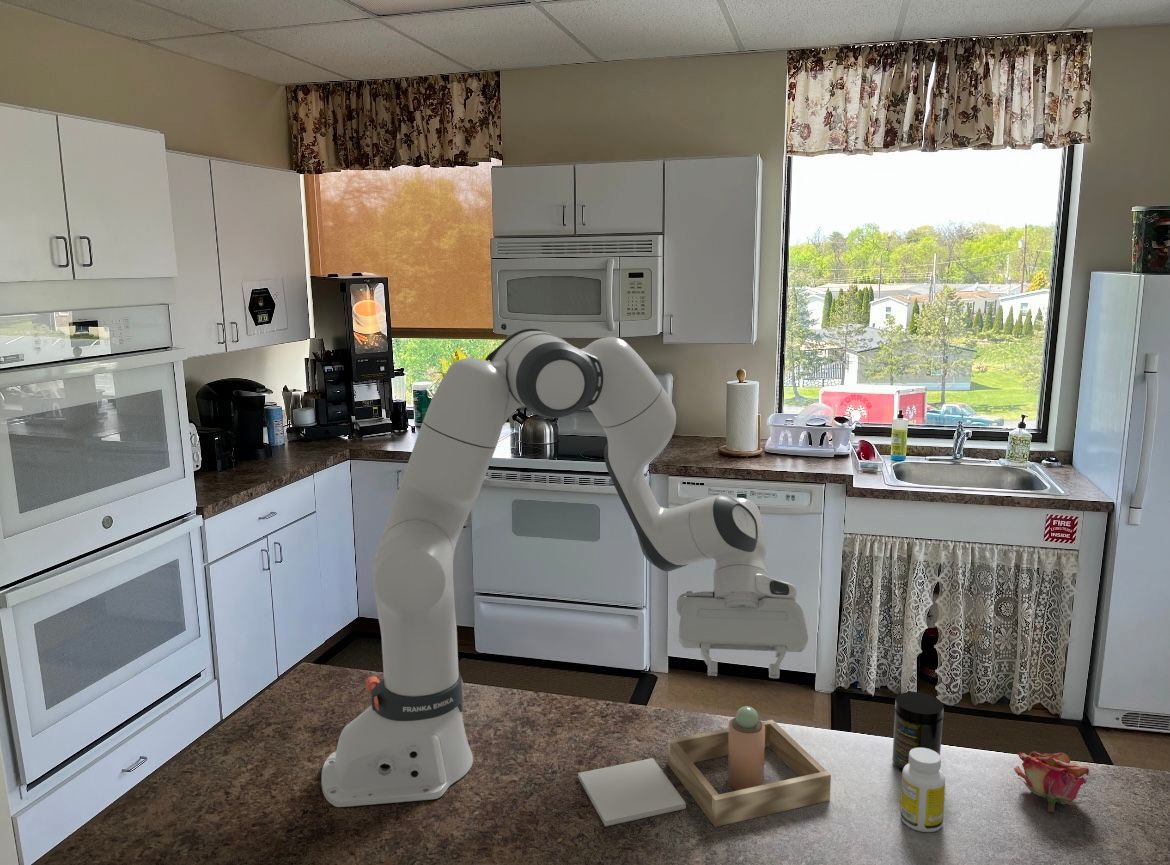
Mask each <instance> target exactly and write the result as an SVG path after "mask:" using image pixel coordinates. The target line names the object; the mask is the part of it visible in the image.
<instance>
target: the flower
mask: <svg viewBox="0 0 1170 865" xmlns="http://www.w3.org/2000/svg"><path fill="white" fill-rule="evenodd" d="M1018 757H1019V759H1020V760H1021V761H1022V764H1021V766H1022V768H1023V769H1024V773H1023V771H1022V770H1021V768H1020V766H1019V765H1016V767H1014V768H1013V770H1014V772H1015V773H1016V774H1017V777H1018V780H1021V781H1022V782H1023V784H1025V786H1026V787H1027V789H1028V790H1029V791H1030V792H1031V793H1032V794H1035V795H1037V796H1039V797H1041V798H1043V799H1044V798H1045V799H1047V801H1048V802H1047V803H1048V804H1047V806H1048V807H1047V812H1048V813H1050V814H1055V805H1056V803H1058V804H1061V805H1068V806H1069V807H1071V808H1072V806H1074V805H1079V804H1082V803H1085V802H1091V800H1090V799H1088V800H1082V801H1080V802H1079V801H1078V802H1077V801H1075V799H1076V798H1077V796H1078V793H1079V791H1080V789H1081V787H1082V785H1084V784H1086V783H1087V782H1088V781H1087V779H1086V778H1084V777H1083V776H1084V775H1086V776H1088V775H1089V772H1090V769H1089V766H1087V765H1085V766H1082V765H1079V764H1078V763H1077V762H1076V761H1075V762H1074V761H1072V762H1071V758H1070V756H1069V755H1068V754H1066V753H1065V752H1057V753H1046V752H1045V753H1039V752H1037V751H1035V750H1033V751H1030V753H1029V755H1028V754H1026V753H1025V752H1020V751H1018ZM1019 777H1021V778H1019ZM1022 778H1023V779H1022Z"/></svg>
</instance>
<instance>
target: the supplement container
mask: <svg viewBox="0 0 1170 865" xmlns="http://www.w3.org/2000/svg"><path fill="white" fill-rule="evenodd" d="M894 703H895V704H894V723H893V741H892V742H893V744H892V755H891V756H892V763H893V764H894V766H895V767H896V768H897V769H898V770H899V771H900V772H902V773H903V768H904V767H905V765H907V764H908V763H909V752H910V750H911V749H914V748H927V749H931V750H933V751H935V752H937V753H938V754H939V755H940V756H941V751H942V750H941V748H942V733H943V720H944V709H945V706H944V703H943V702H942V701H941V700H940V699H938V698H937V697H935V696H933V695H930V694H927V693H924V692H919V691H918V692H917V691H907V692H906V691H905V692H902V693H899V694H898V695H896V697H895V702H894Z"/></svg>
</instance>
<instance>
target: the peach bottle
mask: <svg viewBox="0 0 1170 865" xmlns="http://www.w3.org/2000/svg"><path fill="white" fill-rule="evenodd" d="M728 728H729V740H728V756H727V758H728V759H727V783H728V785H729V786H730V787H732V788H733V789H734V790H735V791H737V790H742V789H746V788H751V787H756V786H760V785H765V784H764V783H765V781H764V779H765V752H766V751H765V749H766V748H765V724H764V723H763V722H762V720H760V719H759V714H758V712H757V710H755V708H753V707H752V706H750V705H749V706H748V705H745V706H742V707H740V708H739V709H738V710H737V711H736V714H735V717H733V718H732V719H730V720H729V722H728Z"/></svg>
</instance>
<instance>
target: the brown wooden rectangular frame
mask: <svg viewBox="0 0 1170 865" xmlns="http://www.w3.org/2000/svg"><path fill="white" fill-rule="evenodd" d="M761 721H762V720H761ZM762 722H763V723H764V724H765V749H766V748H769V749H771V751H773V752H774V754H776V756H777V757H778V758H780V759H781V760H782V762H784V763H785V764H786V765H787V766H788V767H789V769H791V770H792V771H793V773H794V774H795V775H797V777H793V778H788V779H784V780H779V781H774V782H770V783H765V784H764V785H760V786H756V787H751V788H746V789H742V790H734V791H728V792H725V793H718V792H717V790H716V789H715V788H714V787H713V785H712V784H711V783H710V782H709V780H708V779H707V778H706V777H705V776H704V774H703V773H702V771H700V769H699V768H698V767H697V765H695V763H699V762H702V761H708V760H713V759H718V758H722V757H728V740H729V727H726V728H722V729H717V730H712V731H705V732H701V733H697V734H692V735H686V736H681V737H675V738H670V739H667V766H668V767H669V768H670V769H671V771H672V772H673V773H674V775H676V777H677V778H678V780H679V781H680V782H681V784H682V785H683V787H684V788H685V789H686V790H687V792H688V793H689V794H690V796H691V797H692V799H693V800H694V801H695V802H696V804H697V805H698V807H700V809H701V811H702V812H703V813H704V815H705V816H706V817H707V819H708V820H709V821H710V822H711V823H712V825H713V826H714V827H715V828H718V827H722V826H724V825H726V826H727V825H730V824H733V823H738V822H742V821H746V820H751V819H755V818H760V817H764V816H769V815H772V814H777V813H781V812H785V811H789V810H794V809H798V808H803V807H807V806H812V805H816V804H819V803H825V802H828V801H830V799H831V781H832V774H831V773H830V772H829V771H828V770H826V769H825V767H824V766H822V765H821V764H820V763H819V762H818V761H817V760H816V759H815V758H814V757H813V756H812V755H811V754H809V752H808V751H807V750H805V749H804V748H803V747H802V746H801V744H799V743H798V742H797V741H796V740H795V739H794V738H793V737H791V735H789V734H788V733H787V732H786V731H785V730H784V729H783V728H782V727H781V726H780V725H779V724H778V723H777V722H776V721H774V719H768V720H763V721H762Z"/></svg>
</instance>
